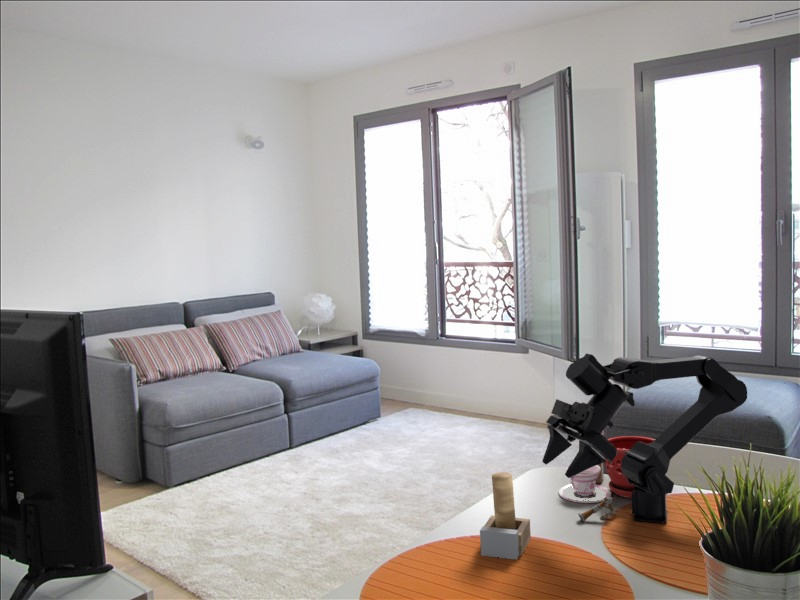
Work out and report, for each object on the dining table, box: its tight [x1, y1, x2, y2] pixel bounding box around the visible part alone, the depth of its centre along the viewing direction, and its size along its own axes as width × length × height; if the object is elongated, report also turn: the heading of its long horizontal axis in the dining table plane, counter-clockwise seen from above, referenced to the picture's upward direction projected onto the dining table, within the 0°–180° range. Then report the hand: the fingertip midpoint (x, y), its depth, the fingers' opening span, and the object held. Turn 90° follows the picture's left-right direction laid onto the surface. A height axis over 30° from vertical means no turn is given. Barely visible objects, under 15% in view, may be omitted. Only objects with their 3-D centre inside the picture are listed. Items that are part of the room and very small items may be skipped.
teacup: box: [558, 465, 612, 504], centre depth 161 cm, size 12×12×6 cm
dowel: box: [491, 471, 516, 530], centre depth 136 cm, size 4×4×13 cm
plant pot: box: [604, 435, 656, 499], centre depth 160 cm, size 13×13×12 cm
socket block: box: [483, 514, 532, 556], centre depth 136 cm, size 8×8×4 cm
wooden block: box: [596, 463, 605, 484], centre depth 169 cm, size 4×4×8 cm
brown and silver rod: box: [577, 496, 617, 523], centre depth 146 cm, size 2×8×4 cm, turn 99°
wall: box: [479, 525, 520, 561], centre depth 132 cm, size 7×2×5 cm, turn 67°
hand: (555, 469), depth 139 cm, fingers open, 9 cm apart
